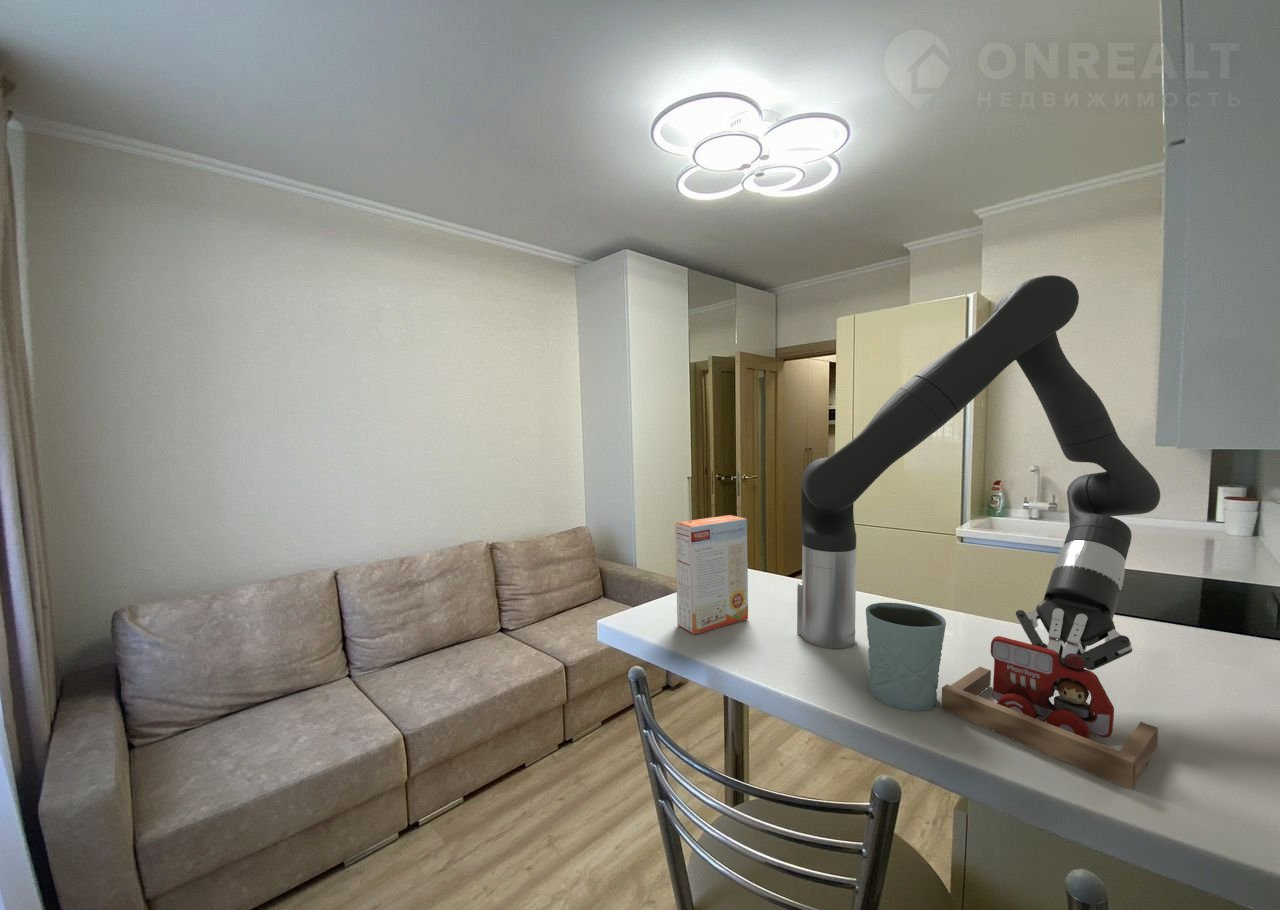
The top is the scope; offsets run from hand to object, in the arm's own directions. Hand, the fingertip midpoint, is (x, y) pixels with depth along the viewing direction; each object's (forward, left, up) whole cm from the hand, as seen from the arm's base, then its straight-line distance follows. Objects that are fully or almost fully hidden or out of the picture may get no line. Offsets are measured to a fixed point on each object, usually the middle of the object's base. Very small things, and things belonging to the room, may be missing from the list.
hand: (1053, 687), depth 66 cm
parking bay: (0, -4, -4) cm, 6 cm away
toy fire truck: (0, -3, -4) cm, 5 cm away
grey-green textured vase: (-15, -10, -4) cm, 18 cm away
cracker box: (-51, -14, -4) cm, 53 cm away
